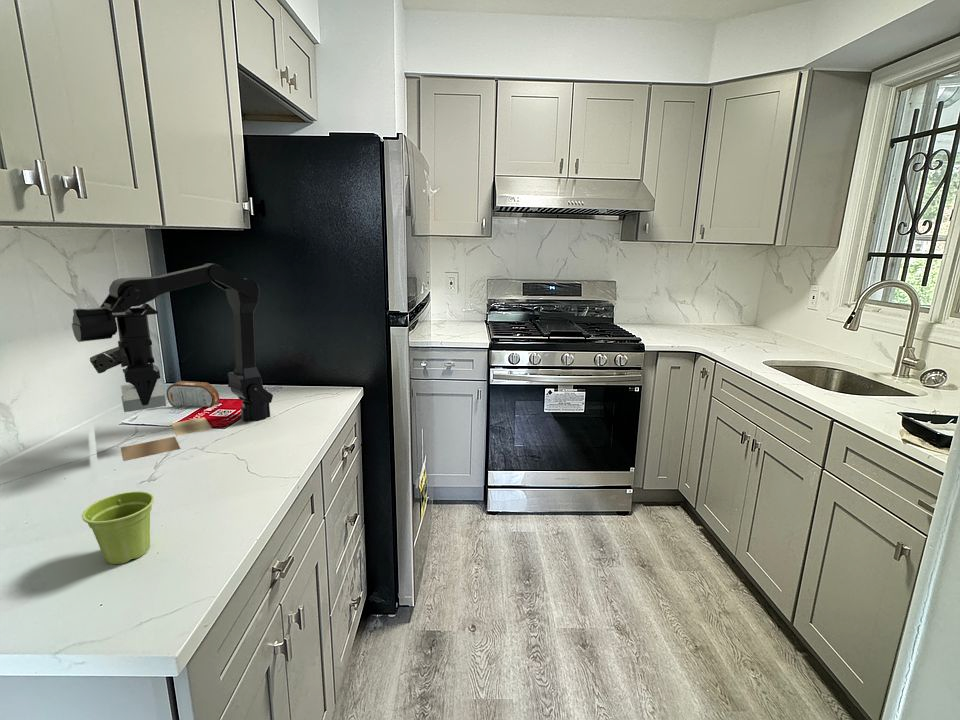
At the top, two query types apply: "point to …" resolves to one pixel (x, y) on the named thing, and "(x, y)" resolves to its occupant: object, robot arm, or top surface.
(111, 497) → the plant pot
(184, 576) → the top surface
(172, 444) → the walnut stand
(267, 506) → the top surface
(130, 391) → the block
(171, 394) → the tin
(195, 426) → the oak stand
